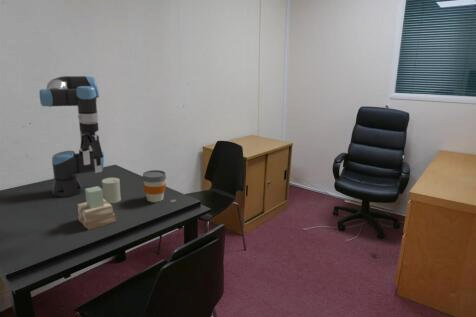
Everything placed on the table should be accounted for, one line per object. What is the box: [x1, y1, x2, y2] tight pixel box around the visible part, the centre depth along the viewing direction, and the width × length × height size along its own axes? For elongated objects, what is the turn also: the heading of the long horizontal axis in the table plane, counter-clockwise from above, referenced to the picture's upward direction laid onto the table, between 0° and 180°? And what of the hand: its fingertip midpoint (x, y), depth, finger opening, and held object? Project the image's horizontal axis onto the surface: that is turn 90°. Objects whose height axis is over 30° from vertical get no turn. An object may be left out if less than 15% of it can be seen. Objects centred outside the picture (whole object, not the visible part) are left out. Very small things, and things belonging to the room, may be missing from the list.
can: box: [101, 177, 122, 204], centre depth 189 cm, size 9×9×12 cm
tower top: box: [76, 199, 114, 222], centre depth 164 cm, size 12×12×4 cm
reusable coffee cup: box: [142, 169, 167, 203], centre depth 192 cm, size 13×13×15 cm
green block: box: [84, 185, 104, 209], centre depth 162 cm, size 6×6×8 cm
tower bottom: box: [77, 212, 117, 231], centre depth 166 cm, size 13×13×4 cm
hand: (92, 168), depth 158 cm, fingers open, 13 cm apart
